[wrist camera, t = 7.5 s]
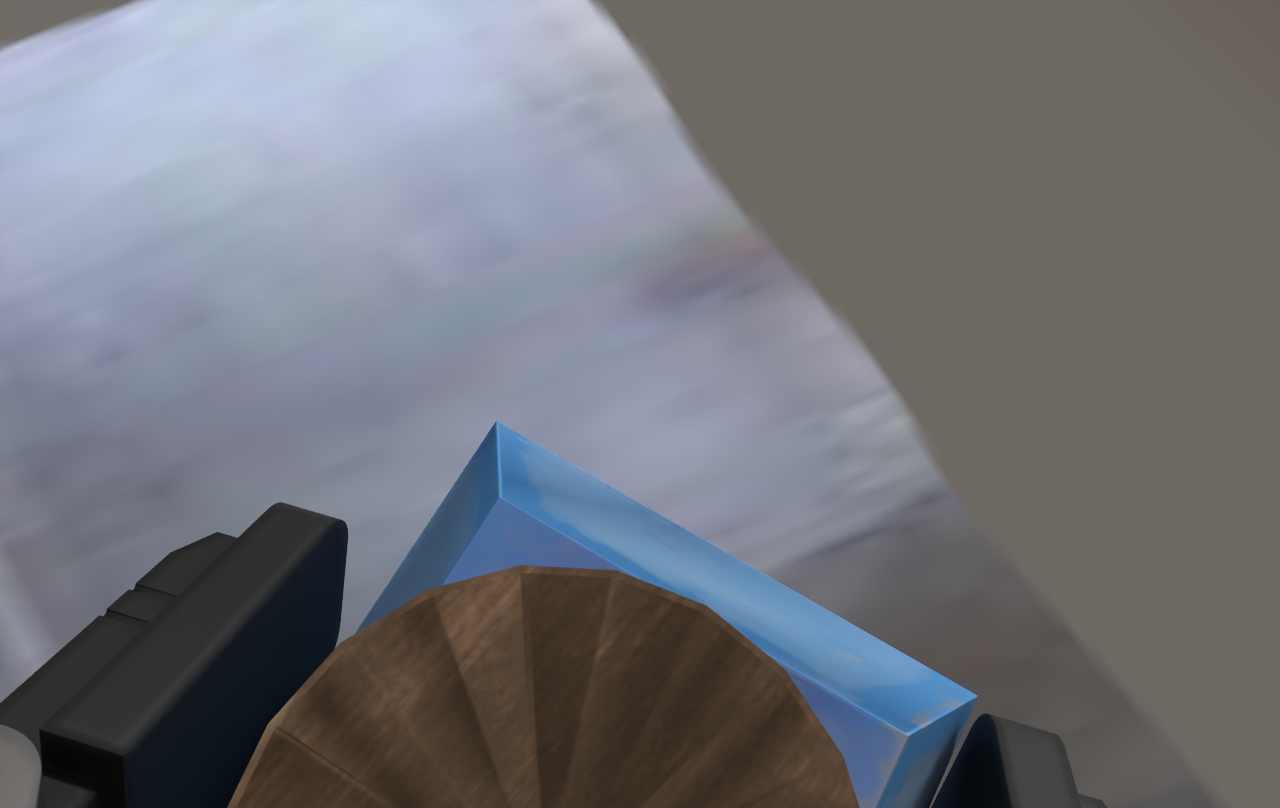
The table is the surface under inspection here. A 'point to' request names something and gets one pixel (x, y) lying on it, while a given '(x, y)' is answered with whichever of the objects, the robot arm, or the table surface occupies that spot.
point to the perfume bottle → (598, 672)
